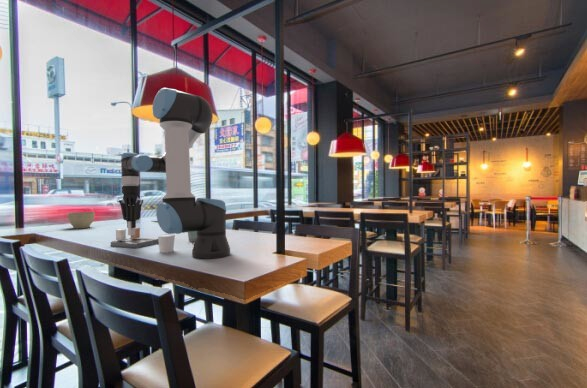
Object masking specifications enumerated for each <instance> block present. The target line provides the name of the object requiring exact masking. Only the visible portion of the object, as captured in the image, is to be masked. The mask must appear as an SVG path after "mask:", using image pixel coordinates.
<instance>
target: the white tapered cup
mask: <svg viewBox="0 0 587 388" xmlns="http://www.w3.org/2000/svg"><path fill="white" fill-rule="evenodd" d="M175 236H176V235H175V234H168V233H166V234H160V235H157V239H158V241H159V243H158V247H159V248H158V249H159V253H162V254H163V253H165V254H166V253H173V252H174V250H175V249H174V248H175Z"/></svg>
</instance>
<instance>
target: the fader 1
mask: <svg viewBox="0 0 587 388" xmlns="http://www.w3.org/2000/svg"><path fill="white" fill-rule="evenodd" d="M126 231H127V229H124V228H122V229H121V228H120V229H119V228H118V229H115V241H116V240H126V239H127V238H126V237H127V236H126V233H127V232H126Z"/></svg>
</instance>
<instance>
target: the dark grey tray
mask: <svg viewBox="0 0 587 388" xmlns="http://www.w3.org/2000/svg"><path fill="white" fill-rule="evenodd" d="M157 244H158V245H159V241H158V238H148V237H147V238H145V237H140V238H131V237H128V238H126V240H116V239H115V240H112V241H110V247H116V248H117V247H118V248H130V249H131V248H132V249H139V248H144V247H149V246H152V245H157Z"/></svg>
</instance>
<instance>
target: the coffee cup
mask: <svg viewBox="0 0 587 388" xmlns="http://www.w3.org/2000/svg"><path fill="white" fill-rule="evenodd" d="M187 237H188V242H190V243H195V240H196V237H197V231H193V232H187Z"/></svg>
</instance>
